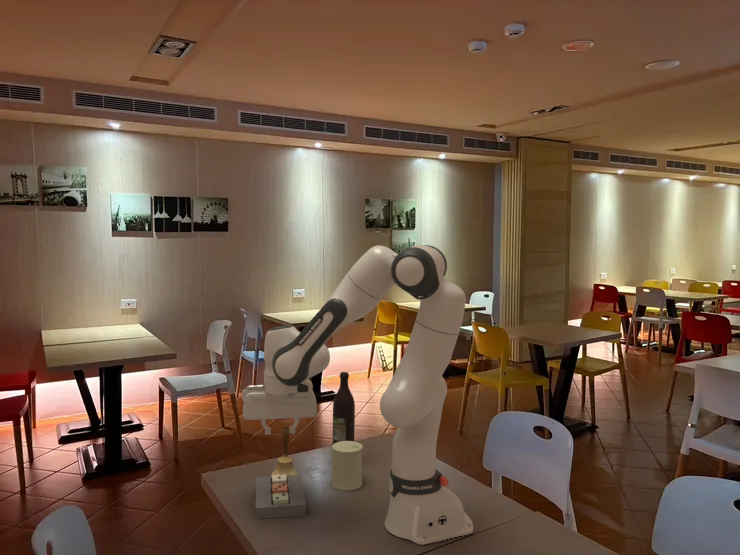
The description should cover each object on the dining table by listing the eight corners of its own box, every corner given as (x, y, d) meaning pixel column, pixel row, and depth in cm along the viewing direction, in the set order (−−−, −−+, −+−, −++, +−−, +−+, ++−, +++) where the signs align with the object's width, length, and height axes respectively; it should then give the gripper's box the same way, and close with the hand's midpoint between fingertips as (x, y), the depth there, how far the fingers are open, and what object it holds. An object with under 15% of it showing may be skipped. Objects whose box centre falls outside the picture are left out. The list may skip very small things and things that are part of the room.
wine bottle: (330, 460, 187) (331, 370, 184) (351, 458, 188) (352, 369, 186) (334, 469, 180) (335, 375, 178) (356, 467, 181) (357, 374, 179)
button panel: (301, 484, 168) (301, 474, 168) (305, 515, 149) (305, 504, 149) (256, 487, 166) (256, 477, 165) (255, 519, 147) (255, 508, 147)
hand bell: (303, 474, 175) (304, 424, 174) (286, 484, 168) (286, 431, 167) (283, 468, 180) (283, 419, 178) (265, 477, 173) (265, 426, 171)
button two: (287, 501, 154) (287, 492, 154) (288, 508, 150) (288, 498, 150) (272, 502, 153) (272, 493, 153) (273, 509, 149) (273, 499, 149)
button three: (286, 491, 160) (286, 482, 160) (287, 497, 156) (287, 488, 156) (272, 492, 159) (272, 483, 159) (272, 498, 155) (272, 489, 155)
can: (358, 492, 164) (359, 451, 163) (327, 488, 165) (328, 448, 165) (365, 479, 173) (365, 440, 172) (335, 476, 174) (336, 438, 174)
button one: (285, 482, 166) (285, 473, 165) (286, 488, 162) (286, 479, 162) (272, 483, 165) (272, 474, 165) (272, 489, 161) (272, 480, 161)
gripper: (241, 388, 150) (241, 439, 151) (318, 385, 154) (317, 435, 155) (241, 382, 156) (241, 431, 157) (315, 380, 160) (315, 428, 161)
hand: (280, 433), depth 156 cm, fingers open, 5 cm apart
